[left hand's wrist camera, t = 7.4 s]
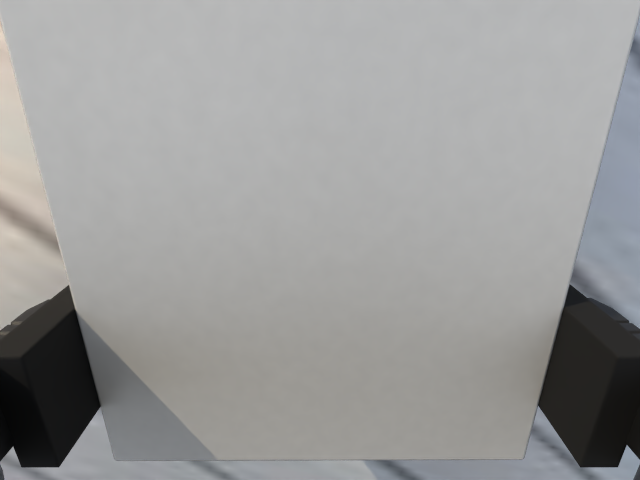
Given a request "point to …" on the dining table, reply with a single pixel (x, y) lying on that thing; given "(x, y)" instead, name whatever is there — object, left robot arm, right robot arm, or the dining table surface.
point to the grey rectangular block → (319, 212)
